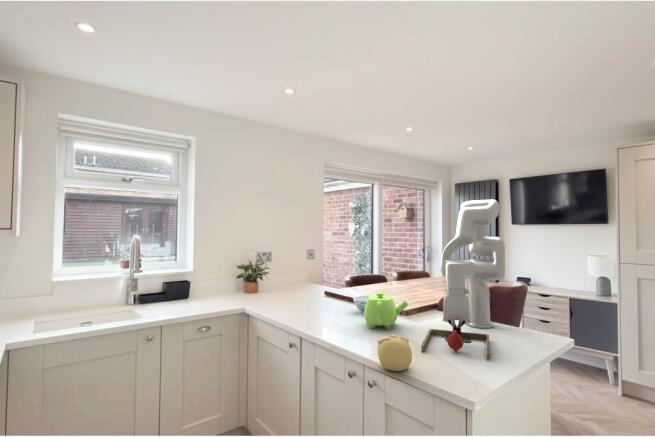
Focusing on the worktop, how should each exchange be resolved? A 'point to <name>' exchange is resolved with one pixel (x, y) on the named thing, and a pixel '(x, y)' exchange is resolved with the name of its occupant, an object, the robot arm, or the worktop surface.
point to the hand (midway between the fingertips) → (457, 336)
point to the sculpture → (394, 353)
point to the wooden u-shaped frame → (465, 335)
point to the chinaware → (361, 302)
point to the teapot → (382, 310)
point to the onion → (455, 341)
